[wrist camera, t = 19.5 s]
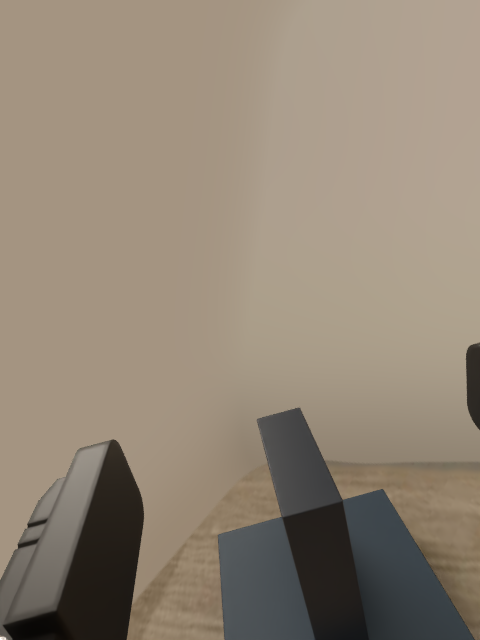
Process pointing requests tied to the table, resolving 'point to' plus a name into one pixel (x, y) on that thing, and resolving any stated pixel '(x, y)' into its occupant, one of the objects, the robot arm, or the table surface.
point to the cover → (327, 559)
